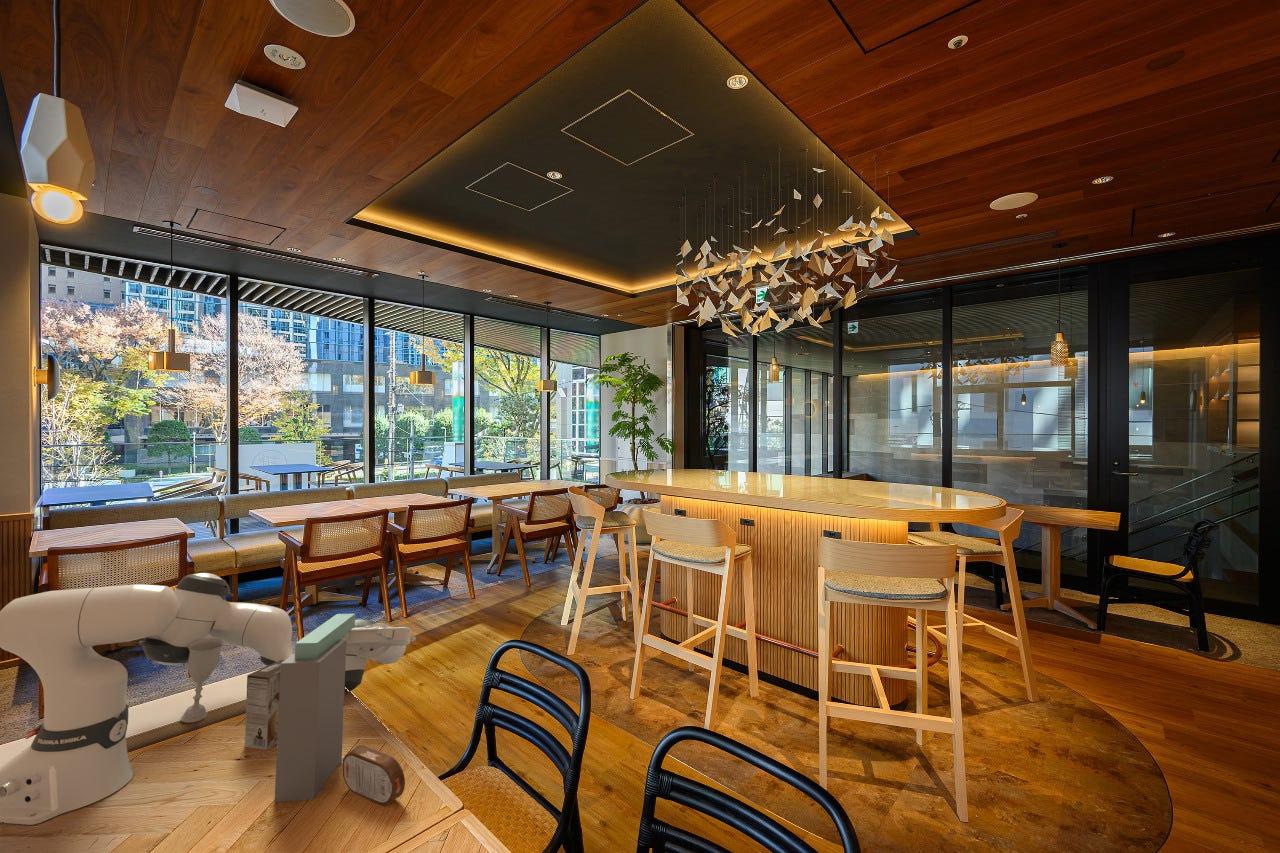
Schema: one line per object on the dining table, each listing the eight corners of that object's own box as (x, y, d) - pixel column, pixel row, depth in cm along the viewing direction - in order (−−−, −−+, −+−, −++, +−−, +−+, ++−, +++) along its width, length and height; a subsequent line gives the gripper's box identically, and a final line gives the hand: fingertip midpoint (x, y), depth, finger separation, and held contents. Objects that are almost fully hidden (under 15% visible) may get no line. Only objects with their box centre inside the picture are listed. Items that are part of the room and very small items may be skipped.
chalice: (194, 727, 124) (207, 652, 125) (167, 722, 124) (179, 647, 125) (219, 710, 132) (231, 640, 132) (193, 706, 132) (205, 636, 132)
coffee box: (279, 726, 125) (282, 658, 126) (301, 729, 124) (304, 661, 125) (242, 747, 116) (246, 674, 117) (266, 751, 115) (270, 677, 116)
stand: (274, 802, 99) (280, 663, 100) (306, 763, 111) (312, 640, 112) (313, 799, 100) (319, 662, 101) (341, 761, 112) (346, 639, 113)
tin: (405, 803, 99) (407, 758, 100) (391, 813, 96) (393, 767, 97) (352, 780, 106) (354, 738, 106) (338, 790, 103) (339, 746, 103)
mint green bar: (294, 658, 102) (295, 643, 102) (336, 627, 120) (336, 613, 120) (316, 658, 103) (317, 642, 103) (354, 626, 120) (355, 613, 120)
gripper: (415, 652, 140) (401, 643, 128) (334, 655, 137) (313, 647, 126) (419, 627, 143) (406, 617, 132) (340, 630, 141) (319, 619, 129)
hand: (360, 631), depth 129 cm, fingers open, 8 cm apart
